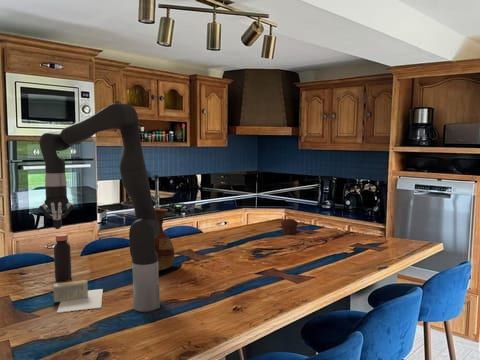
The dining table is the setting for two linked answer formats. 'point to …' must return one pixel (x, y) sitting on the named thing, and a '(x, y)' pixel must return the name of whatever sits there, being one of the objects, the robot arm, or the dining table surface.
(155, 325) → the dining table surface
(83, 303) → the mat
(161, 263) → the brown vase
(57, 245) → the vinegar
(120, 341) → the dining table surface
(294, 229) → the muffin
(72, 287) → the skincare box
